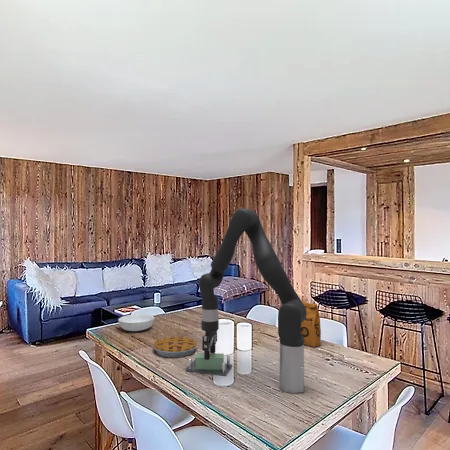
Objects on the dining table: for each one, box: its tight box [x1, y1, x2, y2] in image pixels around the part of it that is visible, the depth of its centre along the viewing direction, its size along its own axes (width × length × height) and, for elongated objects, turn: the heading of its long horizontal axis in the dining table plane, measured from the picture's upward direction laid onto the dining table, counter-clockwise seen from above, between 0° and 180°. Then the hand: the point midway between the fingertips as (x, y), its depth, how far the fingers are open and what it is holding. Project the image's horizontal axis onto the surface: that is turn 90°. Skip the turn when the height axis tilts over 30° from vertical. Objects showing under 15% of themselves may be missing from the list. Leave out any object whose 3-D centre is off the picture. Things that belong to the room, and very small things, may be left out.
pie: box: [153, 336, 198, 358], centre depth 177 cm, size 22×22×5 cm
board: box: [194, 352, 225, 370], centre depth 155 cm, size 12×6×5 cm, turn 89°
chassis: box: [185, 351, 233, 377], centre depth 155 cm, size 18×11×5 cm, turn 75°
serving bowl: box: [118, 313, 155, 332], centre depth 214 cm, size 21×21×7 cm
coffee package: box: [301, 301, 322, 348], centre depth 190 cm, size 10×12×22 cm
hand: (210, 356), depth 155 cm, fingers open, 8 cm apart
